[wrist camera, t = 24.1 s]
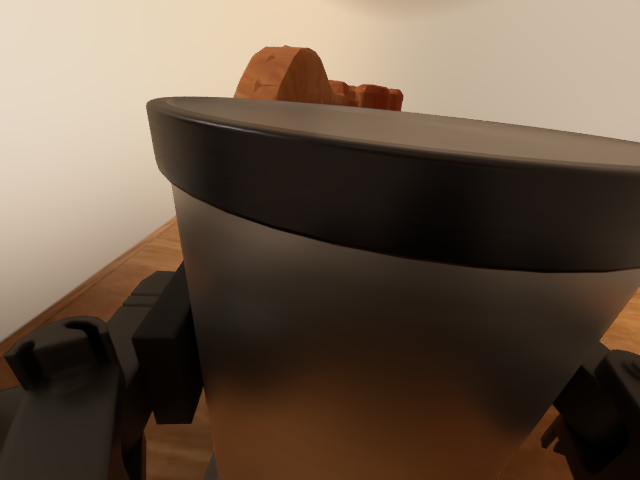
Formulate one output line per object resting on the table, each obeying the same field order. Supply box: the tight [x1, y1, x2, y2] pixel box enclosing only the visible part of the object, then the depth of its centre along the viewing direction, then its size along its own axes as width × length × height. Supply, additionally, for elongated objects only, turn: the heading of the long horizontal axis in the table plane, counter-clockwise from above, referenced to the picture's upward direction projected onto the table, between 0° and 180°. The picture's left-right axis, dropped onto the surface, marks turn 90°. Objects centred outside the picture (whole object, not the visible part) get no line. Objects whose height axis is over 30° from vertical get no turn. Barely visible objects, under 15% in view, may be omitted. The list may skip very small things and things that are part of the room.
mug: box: [234, 45, 403, 111], centre depth 18 cm, size 15×8×15 cm, turn 152°
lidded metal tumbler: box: [146, 97, 640, 480], centre depth 8 cm, size 8×8×12 cm
